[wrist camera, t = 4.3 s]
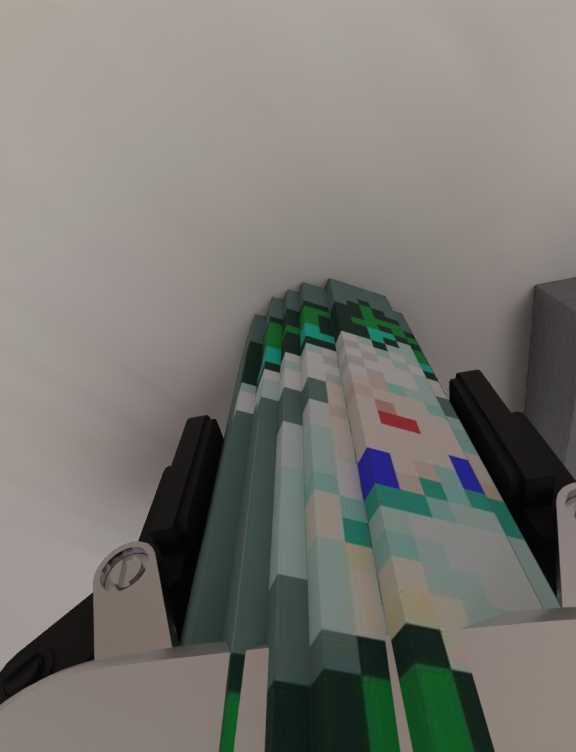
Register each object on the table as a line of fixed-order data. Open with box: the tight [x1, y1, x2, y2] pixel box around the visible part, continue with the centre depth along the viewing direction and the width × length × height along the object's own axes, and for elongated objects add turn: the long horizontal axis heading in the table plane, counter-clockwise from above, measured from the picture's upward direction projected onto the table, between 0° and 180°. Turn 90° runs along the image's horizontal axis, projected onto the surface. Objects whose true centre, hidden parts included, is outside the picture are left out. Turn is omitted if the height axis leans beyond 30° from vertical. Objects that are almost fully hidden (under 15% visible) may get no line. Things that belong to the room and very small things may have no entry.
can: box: [179, 279, 562, 752], centre depth 10 cm, size 6×6×15 cm
